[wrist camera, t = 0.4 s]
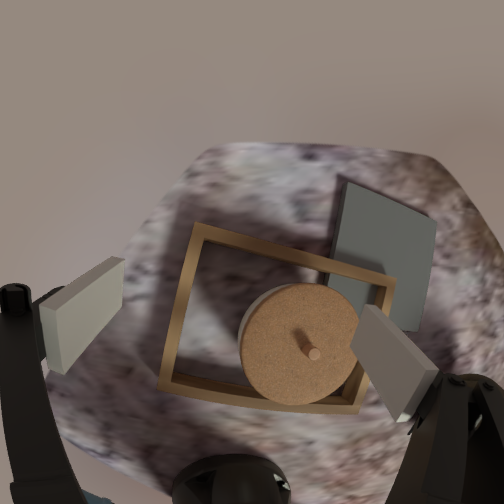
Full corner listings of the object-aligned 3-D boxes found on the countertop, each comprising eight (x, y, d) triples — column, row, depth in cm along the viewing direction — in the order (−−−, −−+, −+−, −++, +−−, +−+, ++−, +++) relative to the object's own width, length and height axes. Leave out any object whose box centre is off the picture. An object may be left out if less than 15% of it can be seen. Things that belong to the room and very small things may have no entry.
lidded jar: (292, 390, 30) (326, 429, 21) (210, 347, 29) (216, 381, 19) (343, 310, 32) (392, 324, 22) (265, 259, 30) (295, 256, 21)
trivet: (412, 330, 33) (417, 332, 32) (315, 313, 31) (320, 314, 30) (431, 222, 35) (437, 221, 34) (343, 184, 32) (347, 181, 31)
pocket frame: (346, 404, 31) (357, 414, 28) (159, 378, 27) (156, 389, 24) (382, 277, 33) (396, 278, 30) (195, 225, 29) (194, 221, 26)
